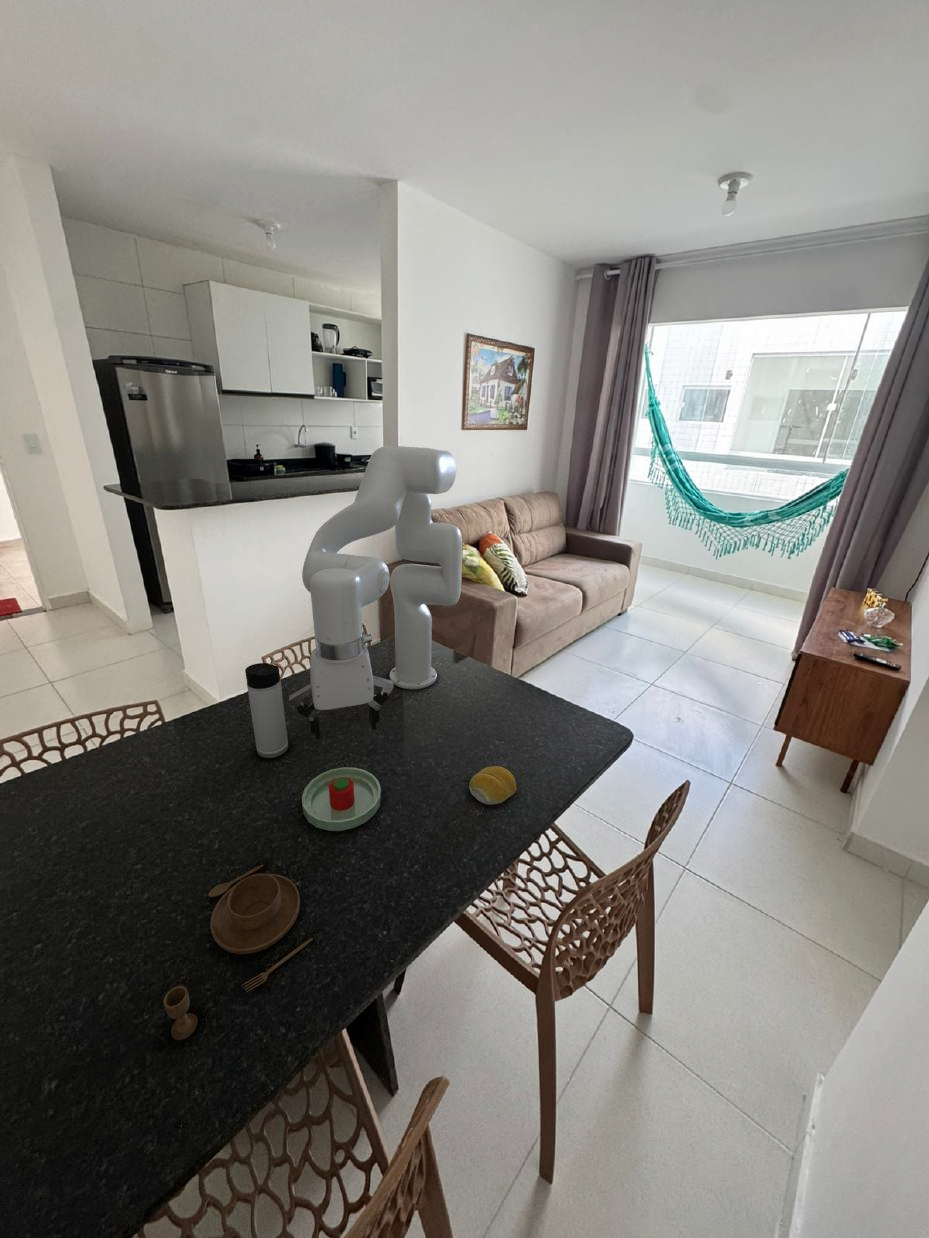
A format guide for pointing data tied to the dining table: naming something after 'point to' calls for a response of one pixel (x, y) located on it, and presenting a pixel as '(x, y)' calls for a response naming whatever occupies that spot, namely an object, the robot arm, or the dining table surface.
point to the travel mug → (267, 709)
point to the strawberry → (341, 793)
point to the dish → (333, 820)
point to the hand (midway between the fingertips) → (345, 729)
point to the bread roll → (492, 785)
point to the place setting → (243, 931)
